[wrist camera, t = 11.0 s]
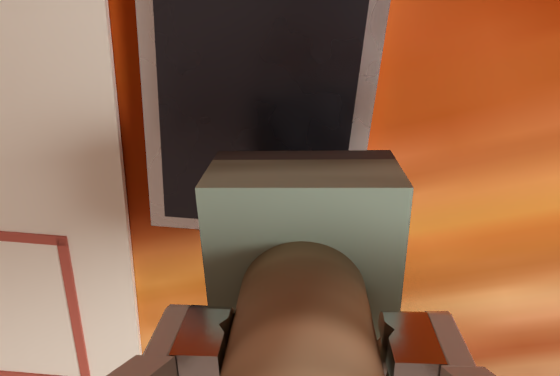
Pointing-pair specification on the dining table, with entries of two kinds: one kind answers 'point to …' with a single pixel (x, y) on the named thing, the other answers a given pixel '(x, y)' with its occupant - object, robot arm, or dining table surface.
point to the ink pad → (251, 85)
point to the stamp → (304, 257)
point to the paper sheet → (62, 195)
